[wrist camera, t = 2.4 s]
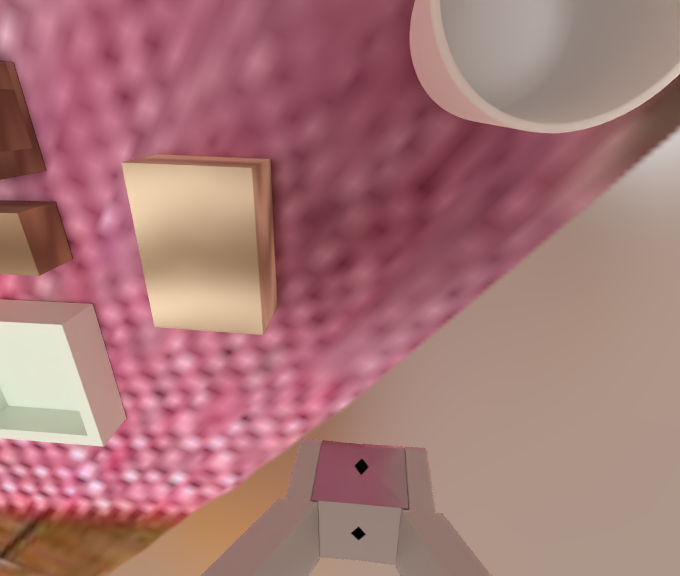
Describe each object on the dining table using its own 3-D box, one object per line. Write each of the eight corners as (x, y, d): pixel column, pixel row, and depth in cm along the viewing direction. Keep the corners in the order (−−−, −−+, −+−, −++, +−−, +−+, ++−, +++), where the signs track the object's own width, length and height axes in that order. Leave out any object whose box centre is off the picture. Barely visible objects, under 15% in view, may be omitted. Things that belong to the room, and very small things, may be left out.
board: (159, 153, 24) (121, 162, 21) (271, 158, 24) (251, 168, 20) (183, 298, 29) (154, 326, 25) (278, 305, 28) (263, 334, 24)
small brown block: (-1, 200, 26) (-45, 211, 24) (55, 201, 26) (17, 213, 23) (19, 256, 28) (-19, 273, 25) (72, 258, 28) (39, 275, 25)
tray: (-44, 296, 30) (-88, 316, 27) (92, 303, 29) (61, 324, 26) (7, 409, 35) (-26, 435, 32) (126, 417, 34) (103, 446, 31)
